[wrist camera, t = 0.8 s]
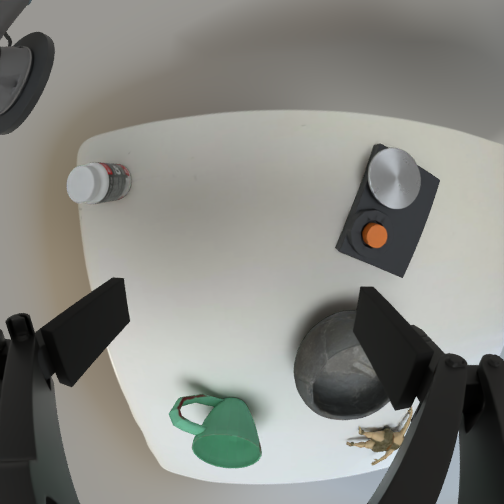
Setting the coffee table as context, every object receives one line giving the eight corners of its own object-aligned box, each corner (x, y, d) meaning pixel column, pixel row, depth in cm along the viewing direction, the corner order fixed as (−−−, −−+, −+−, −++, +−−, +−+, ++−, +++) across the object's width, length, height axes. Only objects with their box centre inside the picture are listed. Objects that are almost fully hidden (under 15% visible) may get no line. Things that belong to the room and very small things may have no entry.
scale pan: (361, 152, 27) (363, 151, 26) (412, 145, 26) (414, 144, 26) (373, 213, 28) (375, 214, 28) (422, 203, 28) (424, 203, 27)
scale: (396, 273, 34) (408, 282, 30) (333, 247, 33) (341, 254, 30) (432, 179, 30) (447, 180, 27) (372, 144, 30) (383, 140, 26)
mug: (274, 405, 40) (276, 452, 30) (237, 431, 42) (232, 474, 32) (200, 359, 38) (185, 406, 28) (168, 391, 40) (150, 433, 30)
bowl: (277, 375, 38) (280, 424, 28) (307, 285, 34) (324, 323, 25) (363, 384, 38) (382, 426, 29) (402, 304, 35) (436, 338, 25)
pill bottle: (136, 168, 31) (101, 166, 23) (127, 203, 32) (91, 211, 24) (107, 160, 31) (69, 158, 23) (99, 195, 32) (61, 200, 24)
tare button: (376, 248, 30) (381, 251, 28) (358, 240, 29) (363, 243, 28) (385, 227, 29) (390, 230, 27) (367, 219, 29) (372, 221, 27)
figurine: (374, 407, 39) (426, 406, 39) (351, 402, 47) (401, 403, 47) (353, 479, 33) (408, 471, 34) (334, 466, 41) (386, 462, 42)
